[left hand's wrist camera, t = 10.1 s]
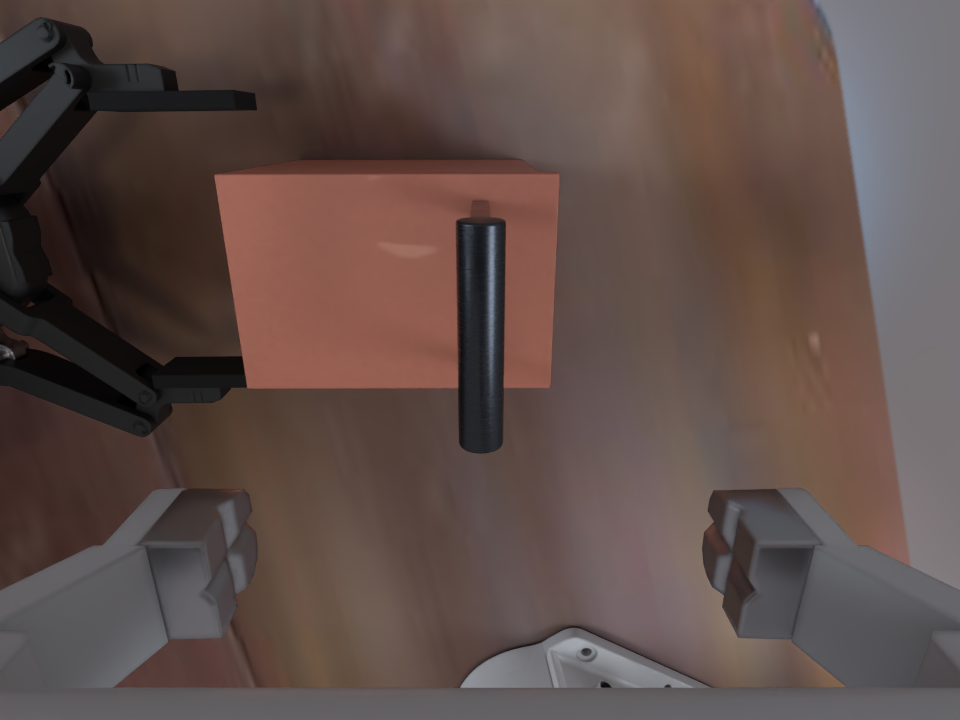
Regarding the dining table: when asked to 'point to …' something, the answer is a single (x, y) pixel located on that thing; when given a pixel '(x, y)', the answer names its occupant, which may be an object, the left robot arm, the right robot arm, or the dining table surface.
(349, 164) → the chest
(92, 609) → the left robot arm
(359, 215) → the lid
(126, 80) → the right robot arm
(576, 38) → the dining table surface
